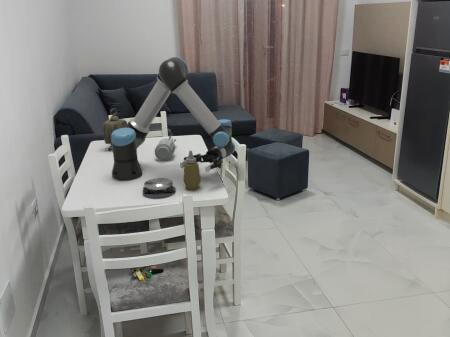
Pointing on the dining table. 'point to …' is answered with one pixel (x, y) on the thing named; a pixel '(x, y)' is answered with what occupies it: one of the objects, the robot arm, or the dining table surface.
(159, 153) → the device
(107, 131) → the olive green container
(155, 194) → the base
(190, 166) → the squeeze bottle
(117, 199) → the dining table surface
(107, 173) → the dining table surface
